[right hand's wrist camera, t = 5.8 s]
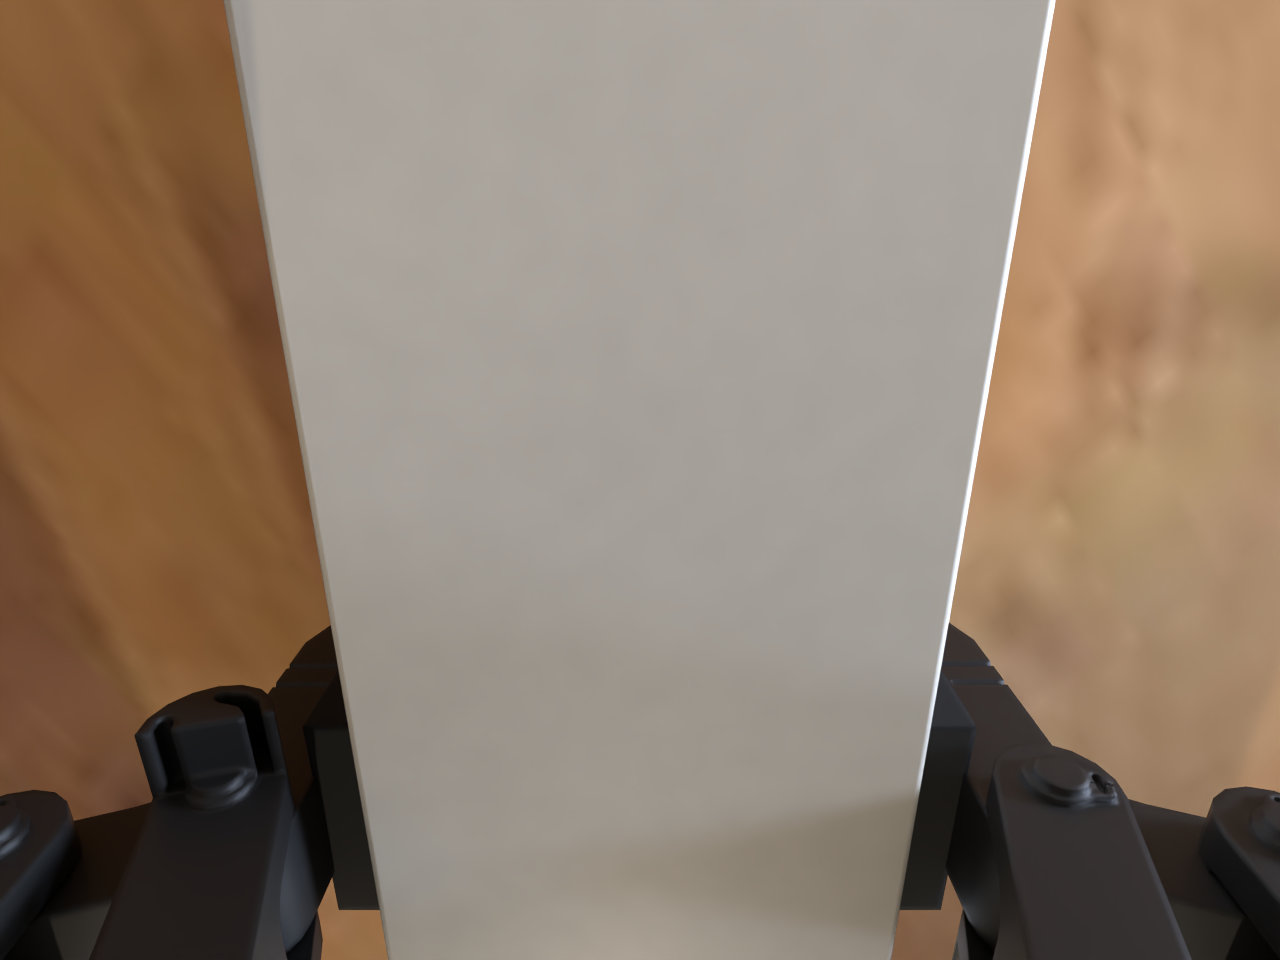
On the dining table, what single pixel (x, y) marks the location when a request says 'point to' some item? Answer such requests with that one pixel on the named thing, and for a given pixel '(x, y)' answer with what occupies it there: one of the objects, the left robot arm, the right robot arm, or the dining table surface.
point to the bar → (639, 440)
